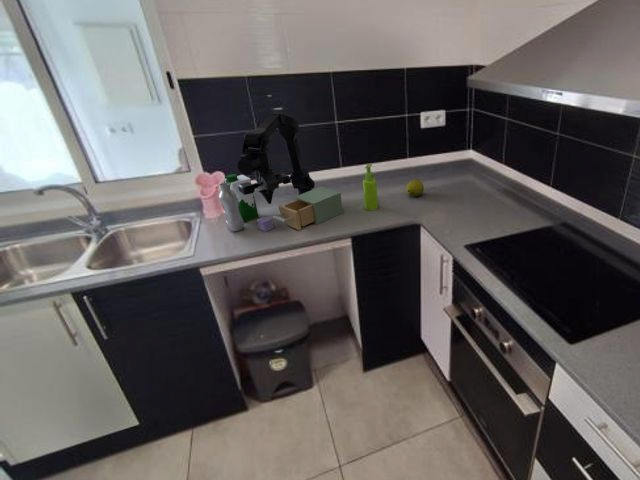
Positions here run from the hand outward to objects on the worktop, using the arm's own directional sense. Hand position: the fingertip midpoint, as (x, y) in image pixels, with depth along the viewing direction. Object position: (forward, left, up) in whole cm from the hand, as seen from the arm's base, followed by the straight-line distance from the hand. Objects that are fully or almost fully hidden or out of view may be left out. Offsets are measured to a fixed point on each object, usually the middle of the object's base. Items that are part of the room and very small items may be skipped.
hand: (269, 203), depth 151 cm
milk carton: (-19, -1, -12) cm, 23 cm away
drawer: (+5, +9, -11) cm, 14 cm away
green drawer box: (+5, +20, -11) cm, 24 cm away
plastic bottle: (-12, -10, -12) cm, 20 cm away
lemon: (+26, +61, -12) cm, 67 cm away
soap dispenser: (+18, +39, -12) cm, 45 cm away
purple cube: (-3, -2, -11) cm, 12 cm away
